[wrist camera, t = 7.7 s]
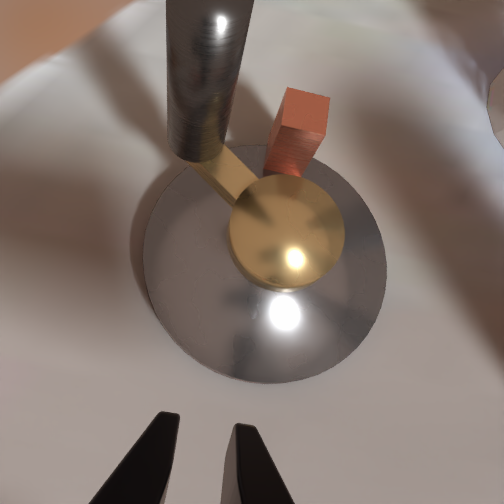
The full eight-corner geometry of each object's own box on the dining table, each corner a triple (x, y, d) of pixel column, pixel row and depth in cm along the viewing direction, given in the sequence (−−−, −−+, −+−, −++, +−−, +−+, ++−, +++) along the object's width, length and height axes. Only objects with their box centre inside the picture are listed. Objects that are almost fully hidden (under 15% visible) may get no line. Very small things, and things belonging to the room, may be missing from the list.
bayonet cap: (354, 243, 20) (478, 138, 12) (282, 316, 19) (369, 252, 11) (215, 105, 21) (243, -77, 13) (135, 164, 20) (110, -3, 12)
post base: (370, 403, 22) (426, 404, 17) (116, 359, 20) (100, 348, 16) (385, 173, 26) (432, 123, 21) (174, 124, 24) (175, 59, 20)
